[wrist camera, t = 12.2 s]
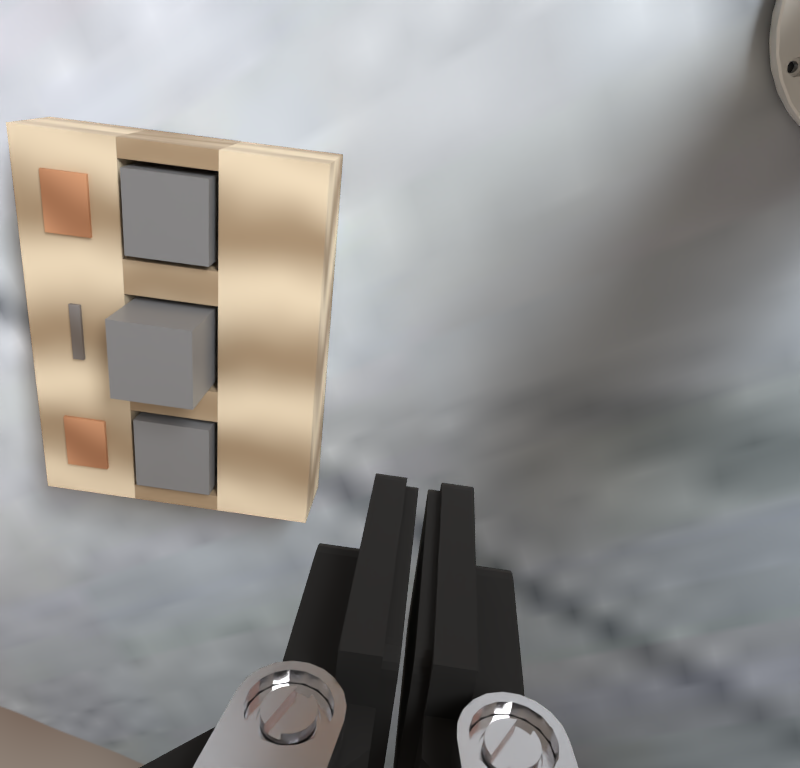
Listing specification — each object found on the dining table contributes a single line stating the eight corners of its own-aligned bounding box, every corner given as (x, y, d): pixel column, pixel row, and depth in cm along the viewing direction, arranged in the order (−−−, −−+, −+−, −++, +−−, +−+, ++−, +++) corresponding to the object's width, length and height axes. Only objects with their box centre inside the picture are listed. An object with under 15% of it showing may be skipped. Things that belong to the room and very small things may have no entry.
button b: (138, 295, 39) (104, 319, 35) (217, 306, 38) (192, 331, 35) (142, 368, 40) (110, 398, 37) (217, 378, 40) (192, 409, 37)
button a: (152, 157, 38) (119, 167, 34) (233, 167, 38) (208, 179, 34) (155, 238, 40) (124, 255, 36) (231, 248, 40) (208, 266, 36)
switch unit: (49, 116, 38) (3, 122, 34) (342, 154, 38) (329, 164, 34) (80, 453, 47) (46, 487, 43) (317, 486, 46) (304, 524, 43)
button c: (160, 390, 44) (133, 419, 40) (230, 400, 44) (209, 430, 40) (162, 451, 46) (136, 484, 42) (229, 460, 46) (208, 495, 42)
